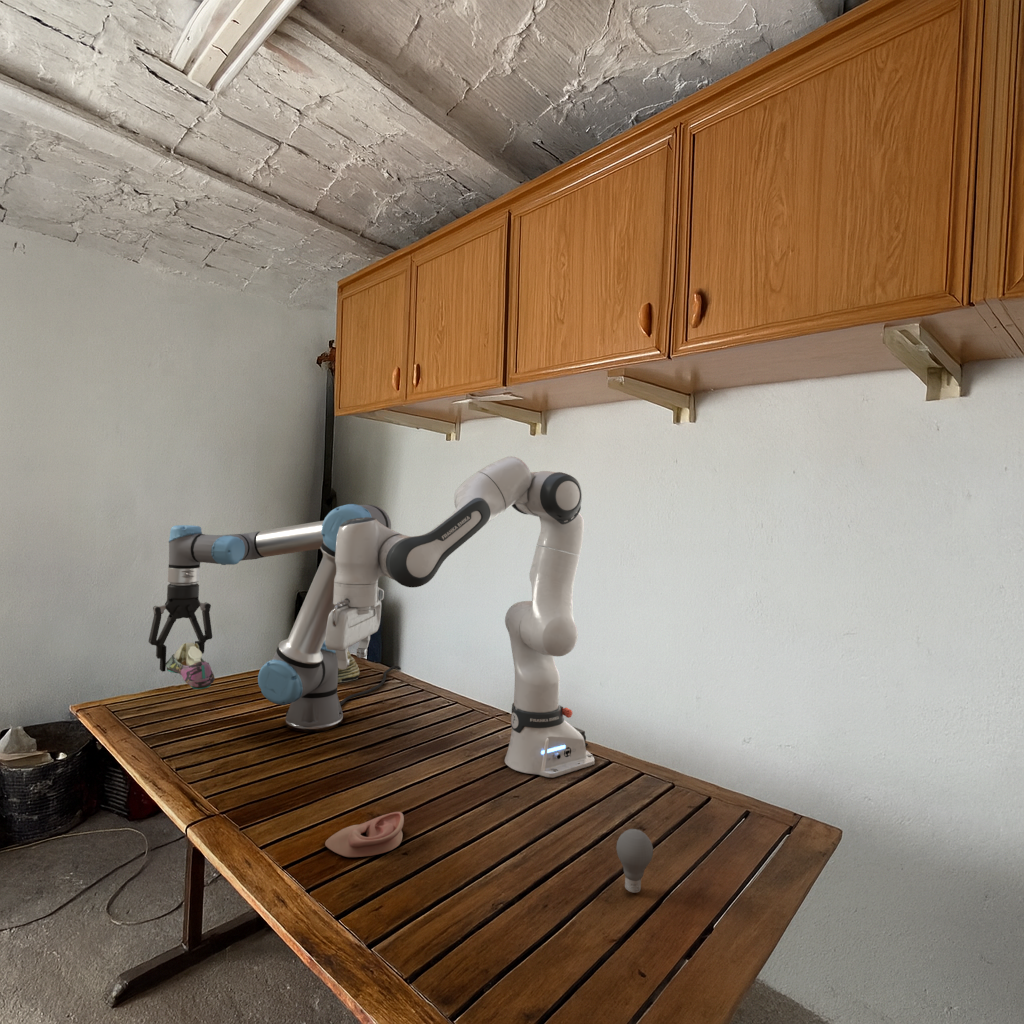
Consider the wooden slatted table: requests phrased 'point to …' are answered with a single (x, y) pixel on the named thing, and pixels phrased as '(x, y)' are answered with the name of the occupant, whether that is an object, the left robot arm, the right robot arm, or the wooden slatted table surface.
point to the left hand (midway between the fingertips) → (179, 667)
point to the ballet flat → (191, 666)
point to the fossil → (348, 670)
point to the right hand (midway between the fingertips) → (352, 662)
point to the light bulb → (634, 857)
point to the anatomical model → (368, 837)
